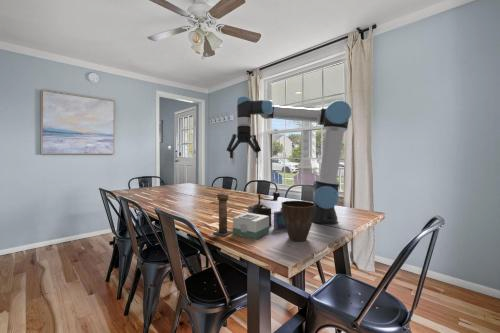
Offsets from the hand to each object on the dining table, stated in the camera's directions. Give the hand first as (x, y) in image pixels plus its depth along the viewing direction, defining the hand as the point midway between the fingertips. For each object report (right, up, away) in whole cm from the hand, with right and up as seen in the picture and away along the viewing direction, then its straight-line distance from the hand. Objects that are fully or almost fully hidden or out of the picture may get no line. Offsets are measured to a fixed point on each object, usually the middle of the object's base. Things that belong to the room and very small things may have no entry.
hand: (244, 164), depth 136 cm
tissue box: (+4, -34, -18) cm, 38 cm away
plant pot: (+25, -34, -26) cm, 50 cm away
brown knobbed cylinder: (-10, -33, -18) cm, 39 cm away
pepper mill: (+11, -33, -2) cm, 35 cm away
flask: (+20, -33, -11) cm, 40 cm away
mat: (-10, -34, -18) cm, 40 cm away
